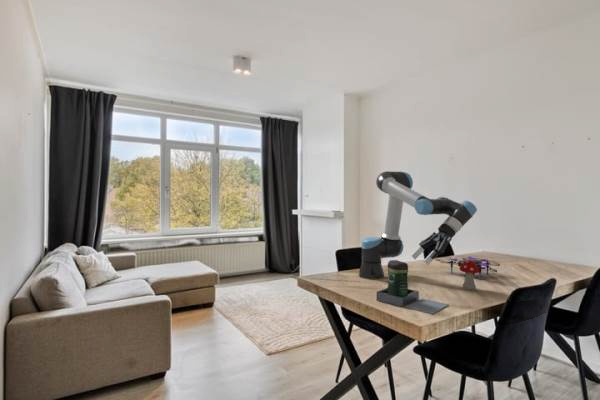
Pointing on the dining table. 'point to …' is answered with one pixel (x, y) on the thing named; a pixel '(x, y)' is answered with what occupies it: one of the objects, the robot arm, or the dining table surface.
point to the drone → (478, 262)
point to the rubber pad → (427, 306)
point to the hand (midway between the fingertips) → (419, 260)
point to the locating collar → (397, 300)
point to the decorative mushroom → (469, 274)
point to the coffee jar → (397, 278)
